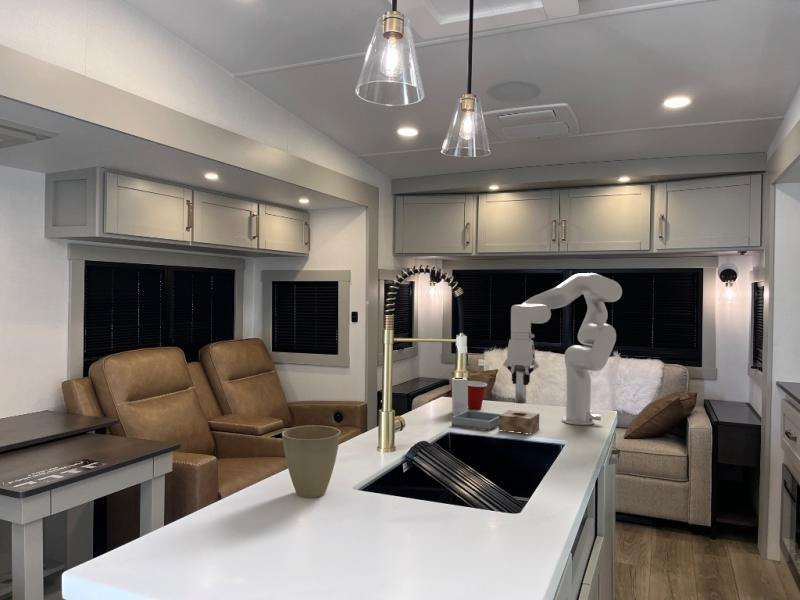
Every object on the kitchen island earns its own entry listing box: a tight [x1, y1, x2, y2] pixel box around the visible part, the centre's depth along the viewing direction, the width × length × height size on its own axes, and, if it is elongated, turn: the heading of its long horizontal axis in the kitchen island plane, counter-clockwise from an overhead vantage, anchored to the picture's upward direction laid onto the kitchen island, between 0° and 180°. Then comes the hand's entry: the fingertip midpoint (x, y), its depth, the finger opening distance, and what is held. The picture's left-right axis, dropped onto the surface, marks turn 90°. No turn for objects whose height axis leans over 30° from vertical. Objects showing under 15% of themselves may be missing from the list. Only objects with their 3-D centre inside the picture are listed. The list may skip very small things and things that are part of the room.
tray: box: [451, 409, 502, 431], centre depth 235 cm, size 16×16×4 cm
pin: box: [514, 365, 527, 404], centre depth 227 cm, size 5×5×15 cm
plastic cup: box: [468, 380, 488, 411], centre depth 268 cm, size 11×11×12 cm
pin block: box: [498, 409, 540, 435], centre depth 227 cm, size 12×12×6 cm
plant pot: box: [281, 425, 341, 499], centre depth 151 cm, size 15×15×16 cm
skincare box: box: [451, 377, 469, 416], centre depth 256 cm, size 8×7×16 cm
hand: (520, 383), depth 227 cm, fingers closed on pin, 4 cm apart
